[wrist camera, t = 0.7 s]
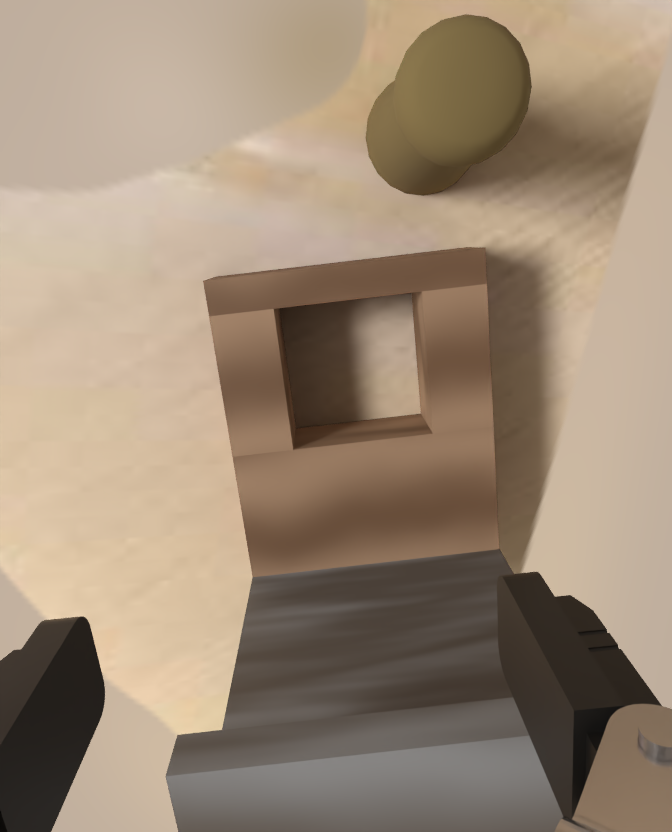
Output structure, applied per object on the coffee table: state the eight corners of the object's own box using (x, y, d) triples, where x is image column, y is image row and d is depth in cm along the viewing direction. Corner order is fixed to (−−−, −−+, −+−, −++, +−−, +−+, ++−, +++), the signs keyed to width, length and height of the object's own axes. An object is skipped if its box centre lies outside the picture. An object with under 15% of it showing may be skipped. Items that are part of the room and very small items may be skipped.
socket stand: (216, 276, 35) (60, 326, 14) (466, 247, 34) (688, 253, 14) (263, 572, 40) (202, 935, 19) (483, 547, 39) (663, 884, 19)
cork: (384, 56, 32) (416, -38, 21) (495, 91, 32) (579, 17, 22) (352, 177, 33) (367, 147, 23) (458, 208, 34) (522, 193, 23)
